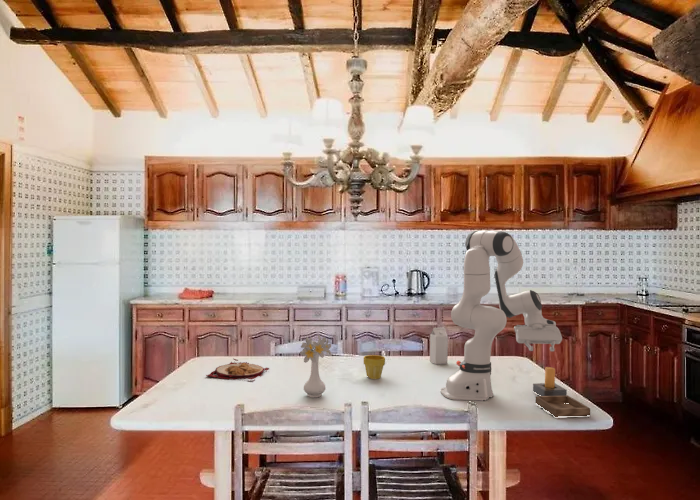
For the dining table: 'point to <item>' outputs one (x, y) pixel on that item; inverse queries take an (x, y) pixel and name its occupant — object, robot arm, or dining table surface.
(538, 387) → the bracket
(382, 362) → the plant pot
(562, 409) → the walnut tray
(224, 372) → the plate with food
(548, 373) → the pin
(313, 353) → the flower vase
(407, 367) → the dining table surface
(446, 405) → the dining table surface
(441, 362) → the milk carton
